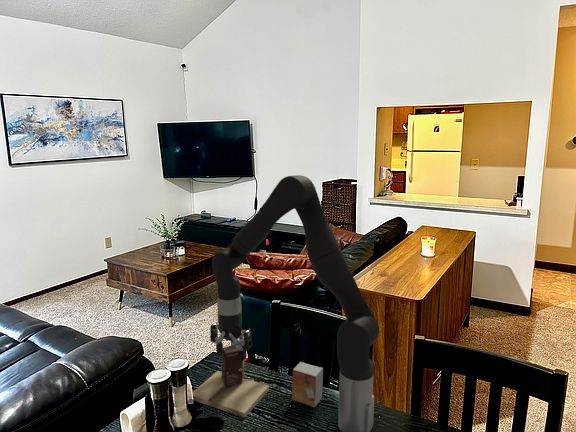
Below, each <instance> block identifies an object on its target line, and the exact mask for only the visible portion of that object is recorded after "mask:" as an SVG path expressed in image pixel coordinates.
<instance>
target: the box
mask: <svg viewBox="0 0 576 432" xmlns="http://www.w3.org/2000/svg"><path fill="white" fill-rule="evenodd" d="M221 372H222V382H223V384H224V385H225V387H227V386H231V385H235V384H239V383H242V378H243V376H242V374H243V361H240V349H239V347H238V346H237V345H233V346H231V345H228V346H223V348H222V355H221Z"/></svg>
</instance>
